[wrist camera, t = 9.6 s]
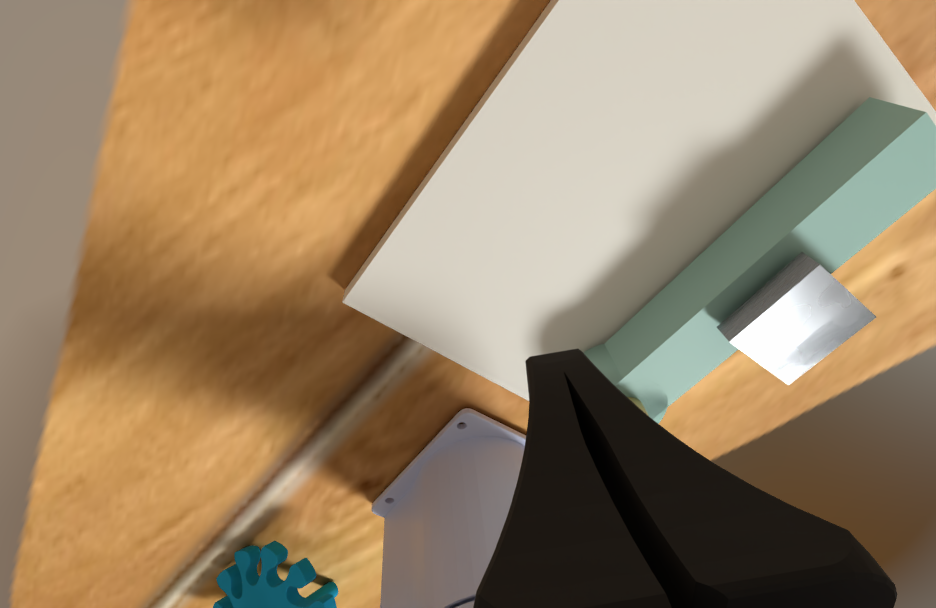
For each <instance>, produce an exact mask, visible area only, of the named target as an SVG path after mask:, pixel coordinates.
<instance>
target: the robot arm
mask: <svg viewBox="0 0 936 608" xmlns="http://www.w3.org/2000/svg"><path fill="white" fill-rule="evenodd" d="M525 363H526V373H527V383H528V392H529V402H530V403H529V419H528V427H527V434H526V435H524V434H522V433H520V432H518V431H516V430H514V429H512V428H510V427H507V426H505V425H503V424H501V423H499V422H497V421H495V420H493V419H491V418H489V417H487V416H485V415H483V414H481V413H479V412H477V411H475V410H473V409H470V408H465V409H462V410H461V411H459V412H458V413H457V414H456V415H455V416H454V418H453V419H452V420H451V421H450V422H449V423H448V424H447V425H446V426H445V427H444V428H443V429H442V430H441V431H440V432H439V433H438V434H437V436H436V437H435V438H434V439H433V440H432V441H431V442H430V443H429V444H428V445H427V446H426V447H425V448H424V449H423V450H422V451H421V452H420V453H419V455H418V456H417V457H416V458H415V459H414V460H413V461H412V462H411V463H410V464H409V465H408V466H407V467H406V468H405V469H404V470H403V471H402V473H401V474H400V475H399V476H398V477H397V478H396V479H395V480H394V481H393V482H392V483H391V484H390V485H389V486H388V487H387V488H386V489H385V491H384V492H383V493H382V494H381V495H380V496H379V497H378V498H377V499H376V500H375V501H374V502H373V504H372V512H373V513H374V514H376V515H379V516H381V517H384V518H385V521H384V542H383V563H382V584H381V605H380V608H893V607H894V604H895V601H896V597H897V592H896V587H895V584H894V583H893V582H892V581H891V579H890V578H889V577H888V576H887V575H886V573H885V572H884V571H883V569H882V568H881V567H880V566H879V564H878V563H877V562H876V561H875V559H874V558H873V557H872V556H871V555H870V553H869V552H868V551H867V550H866V549H865V548H864V547H863V546H862V545H861V544H860V543H859V542H858V541H857V540H856V539H855V538H854V536H853V535H852V534H851V533H850V532H849V531H848V530H846V529H844V528H841V527H839V526H837V525H835V524H832V523H830V522H828V521H826V520H823V519H821V518H819V517H816V516H814V515H812V514H810V513H807V512H805V511H803V510H800V509H798V508H796V507H794V506H791V505H789V504H787V503H785V502H783V501H781V500H780V499H777V498H776V497H774V496H772V495H770V494H768V493H766V492H764V491H762V490H760V489H758V488H756V487H754V486H752V485H750V484H749V483H747V482H745V481H743V480H742V479H740V478H738V477H737V476H735V475H733V474H731V473H730V472H728V471H726V470H724V469H722V468H721V467H719V466H717V465H716V464H714V463H713V462H711V461H710V460H708V459H707V458H705V457H703V456H702V455H700V454H699V453H697V452H696V451H694V450H693V449H692V448H690V447H689V446H687V445H686V444H684V443H683V442H682V441H680V440H679V439H677V438H676V437H675V436H673V435H672V434H671V433H669V432H668V431H667V430H665V429H664V428H663V427H662V426H660V425H659V424H658V423H657V422H655V421H654V420H653V419H652V418H650V417H649V416H648V415H647V414H646V413H644V412H643V411H642V410H641V409H640V408H639V407H637V406H636V405H635V404H634V403H633V402H632V401H631V400H630V399H629V398H628V397H626V396H625V395H624V394H623V393H622V392H621V391H620V390H619V389H618V388H617V387H616V386H615V385H614V384H613V383H612V382H611V381H610V380H609V379H608V378H607V377H606V376H605V375H604V374H603V373H602V372H601V371H600V370H599V369H598V368H597V367H596V366H595V365H594V364H593V363H592V362H591V361H590V360H589V359H588V357H587V356H586V355H585V354H584V353H583V352H582V351H581V350H579V349H578V348H577V349H572V350H566V351H560V352H554V353H548V354H542V355H536V356H531V357H529V358H528V359H527V360H526V361H525ZM460 422H464V423H463V424H458V423H460Z"/></svg>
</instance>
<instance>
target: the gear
mask: <svg viewBox="0 0 936 608" xmlns="http://www.w3.org/2000/svg"><path fill="white" fill-rule="evenodd" d="M287 556H288V550H287V549H286V548H285V547H284V546H283V545H282V544H280V543H278V542H276V541H273V542H271V543H269V544H267V545H265V546H264V547H263V548H262V550H261V553H260V549H259V547H258V546H254V545H252V546H248V547H245V548H243V549H241V550H239V551H237V552H235V555H234V557H235V562H236V564H235V565H233V566H231V567H229V568H227V569H225V570H223V571H222V572H221V573H220V574H219V575H218V577H217V583H218V585H219V587H220V588H221V589H222V590H223V591H224V592H225V593H226V594H227V595H228V596H226V597H224V598H222V599H221V600H219V601H217V602H215V604H214V606H213V608H337V607H336V603H335V599H334V598H335V597H336V596H337V594H338V588H337V586H336V584H335V583H334V582H328V583H327V584H325V585H324V586H322V587H321V588H320V589H318V590H317V591H315V592H314V593H312V594H311V595H309V596H308V597H307V598H304V597H302V596H301V595H300V594H299V592H298V590H297V588H302V587H304V586H306V585H307V584H309V583H310V582H312V581H313V580H314V579H315V578H316V572H315V570H314V568H313V566H312V564H311V563H310V562H309V560H308V559H307V558H304V559H302V560H300V561H299V562H297V563H295V564H294V565H292V566H291V567H290V570H289V574H288V576H287V578H286V580H285V581H283V580H281V579H280V578H279V576H278V574H277V566H278V565H279V564H280V563H282V562H284V561H285V560H286V559H287ZM260 557H261V560H262V570H261V575H260V577H259V575H258V573H257V565H258V563H259V561H260Z"/></svg>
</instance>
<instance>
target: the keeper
mask: <svg viewBox="0 0 936 608" xmlns="http://www.w3.org/2000/svg"><path fill="white" fill-rule="evenodd" d="M875 318H876V316H875V315H874V314H873V313H872V312H870V311H869V310H868V309H867V308H866V307H865V306H864V305H863V304H862V303H861V302H860V301H859V300H858V299H856V298H855V297H854V296H853V295H852V294H851V293H850V292H849V291H848V290H847V289H846V288H845V287H844V286H843V285H841V284H840V283H839V282H838V281H837V280H836V279H835V278H834V277H833V276H832V275H831V274H830V273H829V272H828V271H826V270H825V269H824V268H823V267H822V266H821V265H820V264H819V263H817V262H816V261H814V260H813V259H811V258H810V257H809V256H807V255H806V254H804V253H803V252H801V253H800V254H799V255H798V256H796V257H795V258H794V259H793V260H792V261H791V262H790V263H789V264H787V265H786V266H785V267H784V268H783V269H782V270H781V271H779V272H778V273H777V274H776V275H775V276H774V277H773V278H771V279H770V280H769V281H768V282H767V283H766V284H765V285H764V286H762V287H761V288H760V289H759V290H758V291H757V292H756V293H754V294H753V295H752V296H751V297H750V298H749V299H748V300H747V301H745V302H744V303H743V304H742V305H741V306H740V307H739V308H737V309H736V310H735V311H734V312H733V313H732V314H731V315H730V316H728V317H727V318H726V319H725V320H724V321H723V322H722V323H720V324H719V325H718V326H717V328H718V330H719V331H720V332H721V333H722V334H723V335H724V336H725V338H726V339H727V340H728V341H729V342H730V343H731V344H733V345H734V346H735V347H737V348H738V349H740V350H741V351H742V352H744V353H745V354H746V355H748V356H749V357H751V358H752V359H753V360H755V361H756V362H757V363H759V364H760V365H761V366H763V367H764V368H766V369H767V370H768V371H770V372H771V373H772V374H774V375H775V376H776V377H778V378H779V379H781V380H782V381H783V382H785V383H786V384H787V385H789V384H791V383H792V382H793V381H795V380H796V379H797V378H798V377H800V376H801V375H802V374H804V373H805V372H806V371H807V370H809V369H810V368H811V367H813V366H814V365H815V364H816V363H818V362H819V361H820V360H822V359H823V358H824V357H826V356H827V355H828V354H829V353H831V352H832V351H833V350H835V349H836V348H837V347H838V346H840V345H841V344H842V343H844V342H845V341H846V340H847V339H849V338H850V337H851V336H853V335H854V334H855V333H856V332H858V331H859V330H860V329H862V328H863V327H864V326H866V325H867V324H868V323H869V322H871V321H872V320H873V319H875Z"/></svg>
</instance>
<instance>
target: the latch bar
mask: <svg viewBox="0 0 936 608" xmlns="http://www.w3.org/2000/svg"><path fill="white" fill-rule="evenodd" d="M935 189H936V125H935V124H934V122H933V121H932V120H931V118H930V117H929V115H928V114H927V112H924V111H920V110H917V109H913V108H909V107H905V106H901V105H898V104H894V103H890V102H886V101H882V100H879V99H875V98H871V97H869V98H868V99H867V100H866V101H865V102H864V103H863V104H862V105H861V106H860V107H858V108H857V109H856V110H855V111H854V112H853V113H852V114H851V115H850V116H849V117H848V118H847V119H846V120H844V121H843V122H842V123H841V124H840V125H839V126H838V127H837V128H836V129H835V130H834V131H833V132H832V133H830V134H829V135H828V136H827V137H826V138H825V139H824V140H823V141H822V142H821V143H820V144H819V145H818V146H817V147H815V148H814V149H813V150H812V151H811V152H810V153H809V154H808V155H807V156H806V157H805V158H804V159H803V160H801V161H800V162H799V163H798V164H797V165H796V166H795V167H794V168H793V169H792V170H791V171H790V172H789V173H787V174H786V175H785V176H784V177H783V178H782V179H781V180H780V181H779V182H778V183H777V184H776V185H775V186H773V187H772V188H771V189H770V190H769V191H768V192H767V193H766V194H765V195H764V196H763V197H762V198H761V199H759V200H758V201H757V202H756V203H755V204H754V205H753V206H752V207H751V208H750V209H749V210H748V211H747V212H746V213H744V214H743V215H742V216H741V217H740V218H739V219H738V220H737V221H736V222H735V223H734V224H733V225H732V226H730V227H729V228H728V229H727V230H726V231H725V232H724V233H723V234H722V235H721V236H720V237H719V238H718V239H716V240H715V241H714V242H713V243H712V244H711V245H710V246H709V247H708V248H707V249H706V250H705V251H704V252H702V253H701V254H700V255H699V256H698V257H697V258H696V259H695V260H694V261H693V262H692V263H691V264H690V265H689V266H687V267H686V268H685V269H684V270H683V271H682V272H681V273H680V274H679V275H678V276H677V277H676V278H675V279H673V280H672V281H671V282H670V283H669V284H668V285H667V286H666V287H665V288H664V289H663V290H662V291H661V292H659V293H658V294H657V295H656V296H655V297H654V298H653V299H652V300H651V301H650V302H649V303H648V304H647V305H645V306H644V307H643V308H642V309H641V310H640V311H639V312H638V313H637V314H636V315H635V316H634V317H633V318H631V319H630V320H629V321H628V322H627V323H626V324H625V325H624V326H623V327H622V328H621V329H620V330H619V331H618V332H616V333H615V334H614V335H613V336H612V337H611V338H610V339H609V340H608V341H607V342H606V343H605V344H601V345H598V346H595V347H593V348H590V349H589V350H587V351H585V352H584V354H585V355H586V356H587V357H588V359H589V360H590V361H591V362H592V363H593V364H594V365H595V366H596V367H597V368H598V369H599V370H600V371H601V372H602V373H603V374H604V375H605V376H606V377H607V378H608V379H609V380H610V381H611V382H612V383H613V384H614V385H615V386H616V387H617V388H618V389H619V390H620V391H621V392H622V393H623V394H624V395H625V396H626V397H628V398H629V399H630V400H631V401H632V402H633V403H634V404H635V405H636V406H637V407H639V408H640V409H641V410H642V411H643V412H644V413H646V414H647V415H648V416H649V417H650V418H652V419H653V420H654V421H655V422H657V423H659V422H660V421H661V420H662V418H663V417H664V415H665V412H666V410H667V407H668V406H669V405H671V404H672V403H673V402H674V401H676V400H677V399H678V398H679V397H681V396H682V395H683V394H684V393H685V392H687V391H688V390H689V389H690V388H692V387H693V386H694V385H695V384H696V383H698V382H699V381H700V380H701V379H703V378H704V377H705V376H706V375H708V374H709V373H710V372H711V371H712V370H714V369H715V368H716V367H717V366H719V365H720V364H721V363H722V362H723V361H725V360H726V359H727V358H728V357H730V356H731V355H732V354H733V353H735V352H736V351H737V350H738V348H737V347H735V346H734V345H733V344H731V343H730V342H729V341H728V340H727V339H726V338H725V336H724V335H723V334H722V333H721V332H720V331H719V330H718V328H717V326H718V325H719V324H720V323H722V322H723V321H724V320H725V319H726V318H727V317H728V316H730V315H731V314H732V313H733V312H734V311H735V310H736V309H737V308H739V307H740V306H741V305H742V304H743V303H744V302H745V301H747V300H748V299H749V298H750V297H751V296H752V295H753V294H754V293H756V292H757V291H758V290H759V289H760V288H761V287H762V286H764V285H765V284H766V283H767V282H768V281H769V280H770V279H771V278H773V277H774V276H775V275H776V274H777V273H778V272H779V271H781V270H782V269H783V268H784V267H785V266H786V265H787V264H789V263H790V262H791V261H792V260H793V259H794V258H795V257H796V256H798V255H799V254H800V253H801V252H803V253H804V254H806V255H807V256H809V257H810V258H811V259H813V260H814V261H816V262H817V263H819V264H820V265H821V266H822V267H823V268H824V269H825V270H826V271H828V272H829V273H830V274H831V273H833V272H834V271H835V270H836V269H838V268H839V267H840V266H841V265H842V264H844V263H845V262H846V261H847V260H849V259H850V258H851V257H852V256H854V255H855V254H856V253H857V252H858V251H860V250H861V249H862V248H863V247H865V246H866V245H867V244H868V243H869V242H871V241H872V240H873V239H874V238H876V237H877V236H878V235H879V234H881V233H882V232H883V231H884V230H885V229H887V228H888V227H889V226H890V225H892V224H893V223H894V222H895V221H896V220H898V219H899V218H900V217H901V216H903V215H904V214H905V213H906V212H908V211H909V210H910V209H911V208H912V207H914V206H915V205H916V204H917V203H919V202H920V201H921V200H922V199H923V198H925V197H926V196H927V195H928V194H930V193H931V192H932V191H933V190H935Z"/></svg>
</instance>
